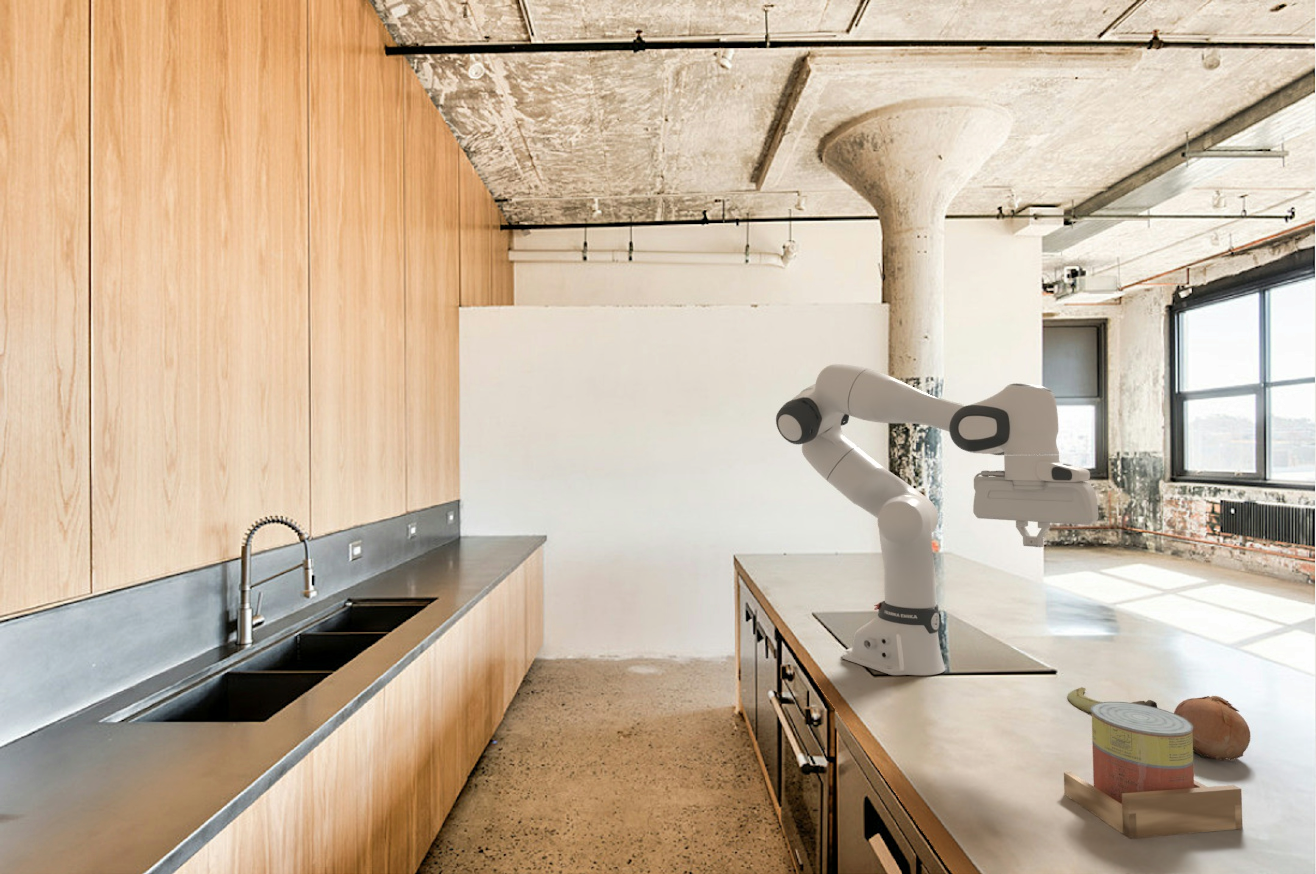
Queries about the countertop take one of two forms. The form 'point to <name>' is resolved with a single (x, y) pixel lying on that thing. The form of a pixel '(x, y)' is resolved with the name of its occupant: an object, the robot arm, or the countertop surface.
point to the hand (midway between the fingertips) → (1033, 546)
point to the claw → (1086, 703)
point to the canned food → (1140, 749)
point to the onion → (1215, 727)
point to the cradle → (1162, 808)
